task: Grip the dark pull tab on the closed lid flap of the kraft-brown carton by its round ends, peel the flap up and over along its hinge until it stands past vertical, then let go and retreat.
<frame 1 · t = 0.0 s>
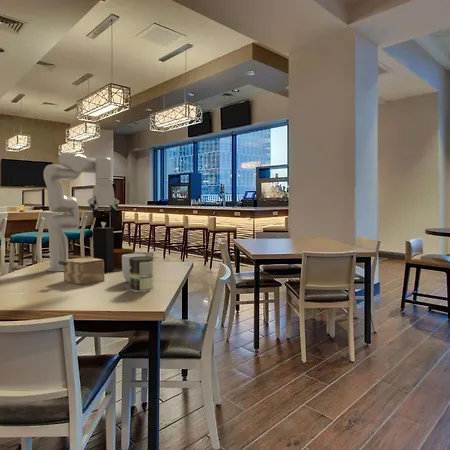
hand: (104, 217, 177), 31 cm above the table, fingers open, 9 cm apart
carton: (84, 281, 176), on the table
flap: (78, 260, 173), point 10 cm above the table, hinge at 0.0°
coffee can: (141, 289, 159), on the table
tissue box: (104, 272, 200), on the table
brown block: (119, 267, 216), on the table
mug: (136, 281, 175), on the table
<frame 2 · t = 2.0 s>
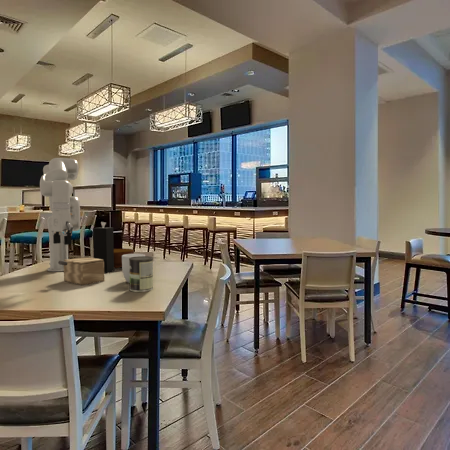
hand: (62, 243, 166), 19 cm above the table, fingers open, 9 cm apart
nothing on the table moved.
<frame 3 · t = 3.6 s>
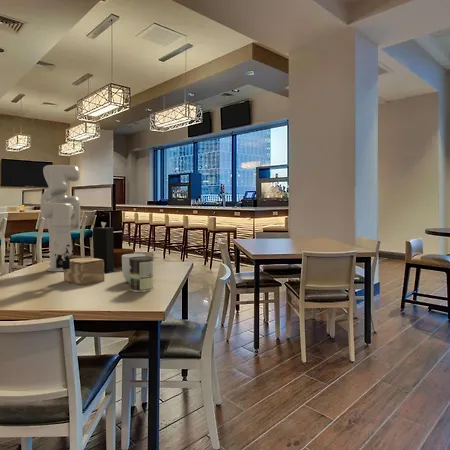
hand: (63, 268, 167), 8 cm above the table, fingers closed on flap, 5 cm apart
flap: (78, 260, 173), point 10 cm above the table, hinge at 0.0°, touching gripper
everything else where it was.
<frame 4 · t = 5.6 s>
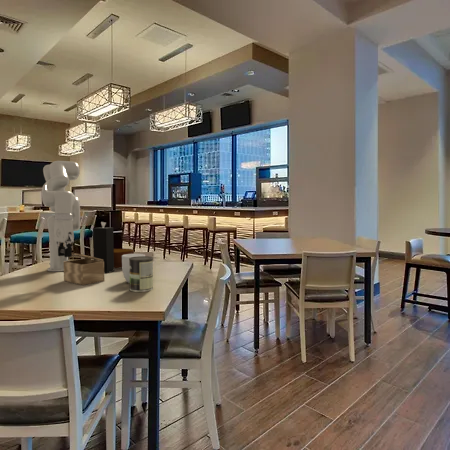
hand: (64, 255, 167), 14 cm above the table, fingers closed on flap, 5 cm apart
flap: (79, 255, 173), point 13 cm above the table, hinge at 18.9°, touching gripper
everything else where it was.
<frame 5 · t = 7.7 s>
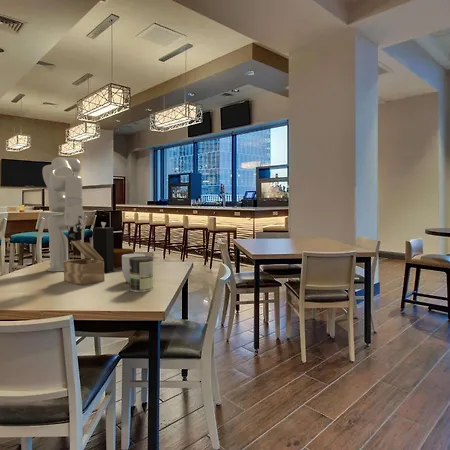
hand: (74, 239, 171), 21 cm above the table, fingers closed on flap, 5 cm apart
flap: (83, 246, 175), point 17 cm above the table, hinge at 48.7°, touching gripper
everything else where it was.
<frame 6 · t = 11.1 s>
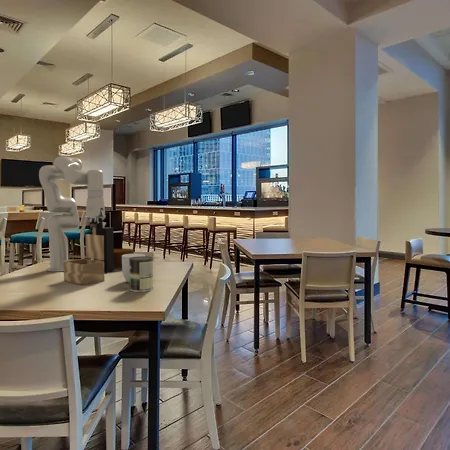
hand: (96, 230, 180), 25 cm above the table, fingers closed on flap, 5 cm apart
flap: (94, 241, 180), point 19 cm above the table, hinge at 90.4°, touching gripper
everything else where it was.
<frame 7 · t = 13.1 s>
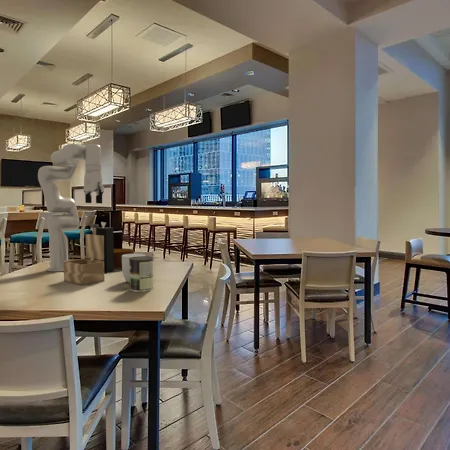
hand: (93, 203, 181), 38 cm above the table, fingers open, 9 cm apart
flap: (94, 241, 180), point 19 cm above the table, hinge at 90.6°
everything else where it was.
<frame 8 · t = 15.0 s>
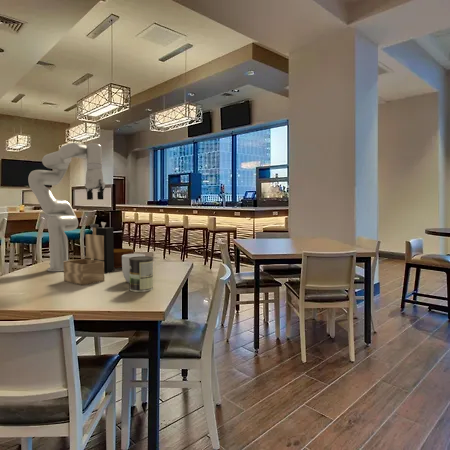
hand: (95, 199, 191), 40 cm above the table, fingers open, 9 cm apart
nothing on the table moved.
at the end: flap at +91° (first picture: +0°); the gripper is holding nothing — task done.
